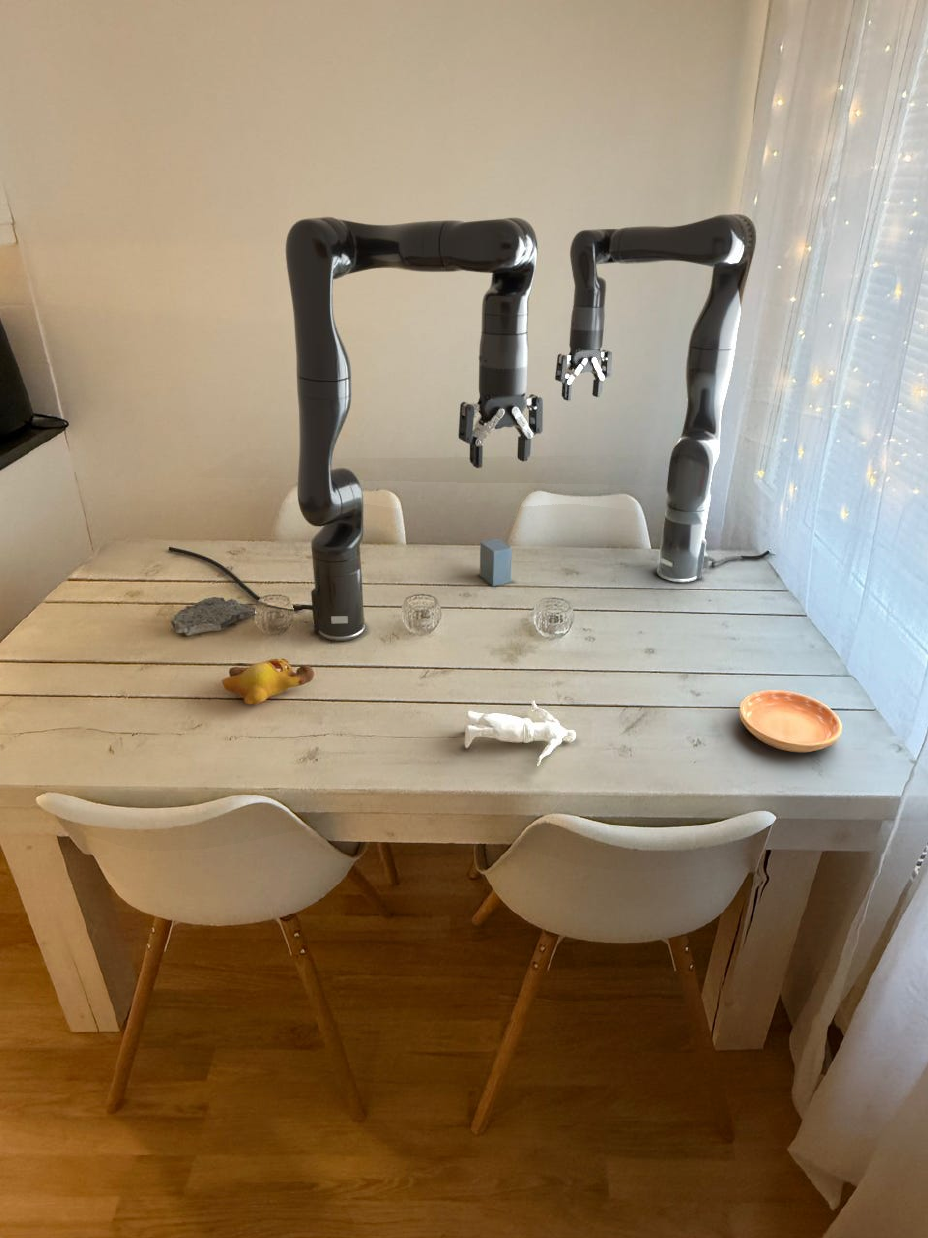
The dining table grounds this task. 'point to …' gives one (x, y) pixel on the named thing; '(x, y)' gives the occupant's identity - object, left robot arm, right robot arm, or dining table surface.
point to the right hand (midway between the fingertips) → (581, 397)
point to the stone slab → (210, 615)
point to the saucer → (790, 721)
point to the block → (495, 561)
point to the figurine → (517, 729)
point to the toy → (265, 679)
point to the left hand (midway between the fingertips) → (500, 463)
